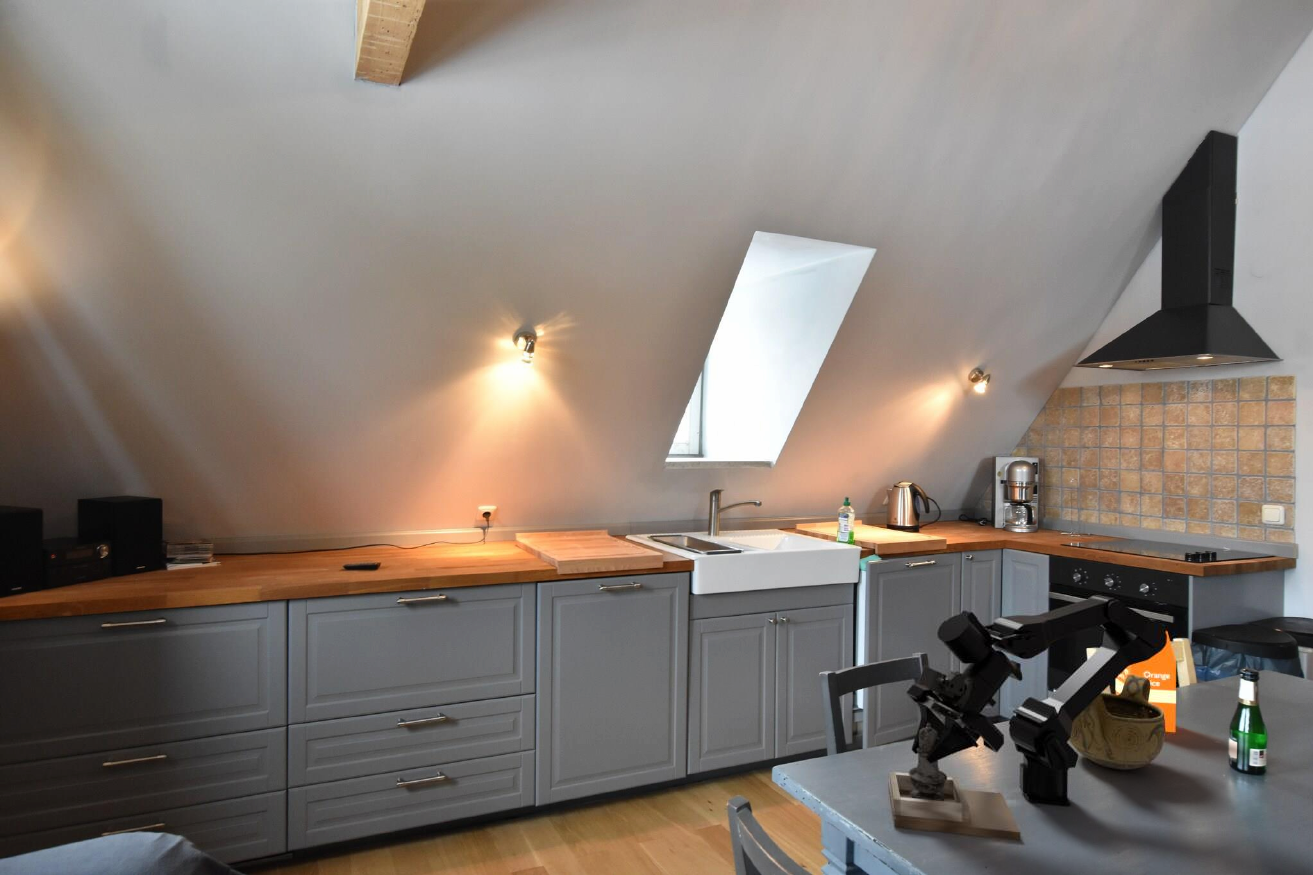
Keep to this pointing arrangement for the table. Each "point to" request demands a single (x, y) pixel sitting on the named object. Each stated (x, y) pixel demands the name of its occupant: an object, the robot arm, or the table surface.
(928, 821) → the board
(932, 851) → the table surface
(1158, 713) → the ceramic bowl
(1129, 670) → the orange juice
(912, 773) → the salt shaker
